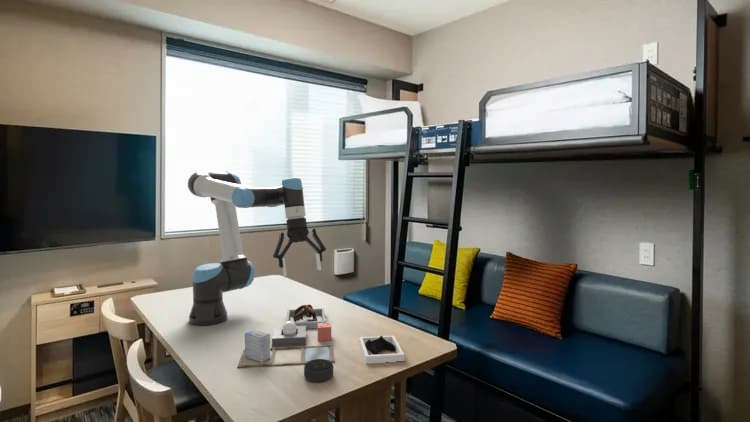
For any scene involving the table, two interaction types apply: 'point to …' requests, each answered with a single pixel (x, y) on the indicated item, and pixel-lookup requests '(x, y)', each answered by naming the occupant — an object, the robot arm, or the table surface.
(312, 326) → the mug coaster rim
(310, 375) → the smart speaker
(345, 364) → the table surface
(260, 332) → the medicine box
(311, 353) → the wooden window frame
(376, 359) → the controller tray rim
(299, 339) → the grey square holed block
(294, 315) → the pottery mug
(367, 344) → the gaming controller
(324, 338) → the die
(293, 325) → the dome
